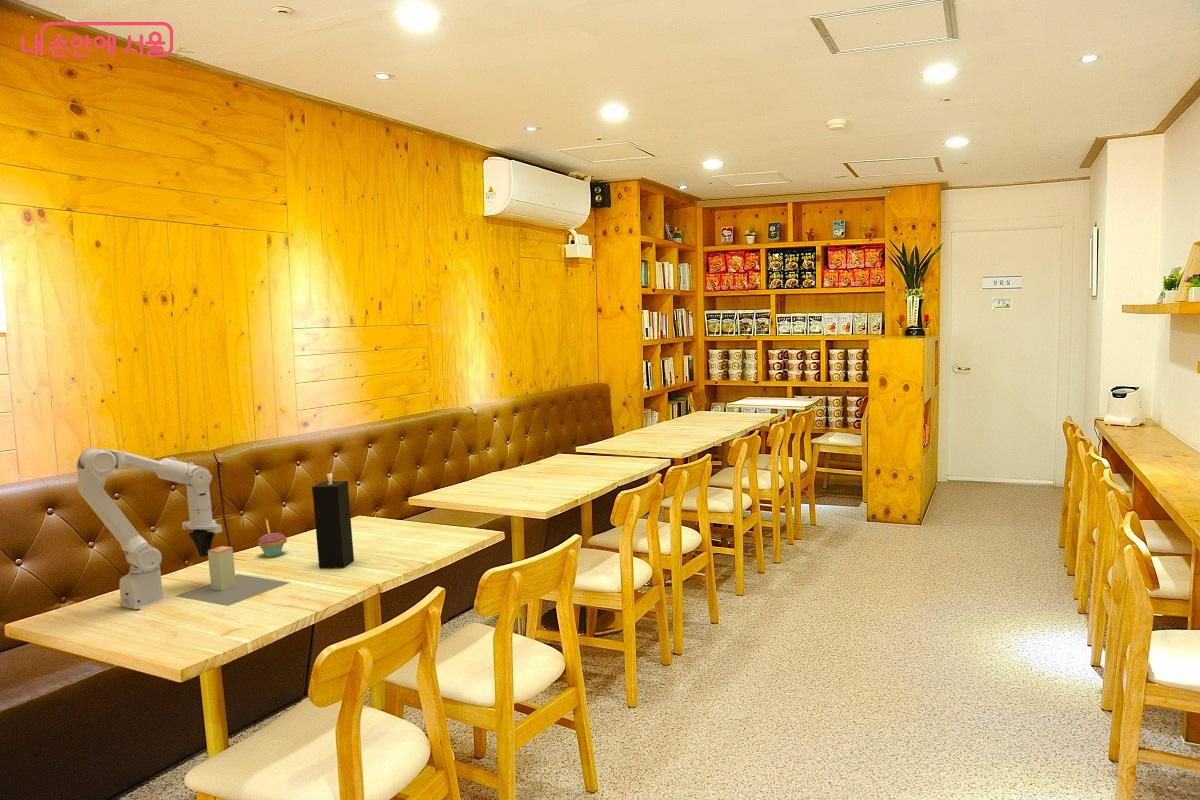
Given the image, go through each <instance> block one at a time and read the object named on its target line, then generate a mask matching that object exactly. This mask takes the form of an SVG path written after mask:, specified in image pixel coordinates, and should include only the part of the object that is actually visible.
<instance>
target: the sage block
mask: <svg viewBox="0 0 1200 800" xmlns="http://www.w3.org/2000/svg"><path fill="white" fill-rule="evenodd" d="M207 557H208V558H207V559H208V567H209V577H210V584H211V589H214V590H220V591H223V590H226V589H229V588H232V587H235V586H236V578H235V575H236V569H235V568H236V567H235V560H234V558H235V557H234V549H233V547H232V546H224V545H221V546H217V547H214V548H210V550H208V556H207Z"/></svg>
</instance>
